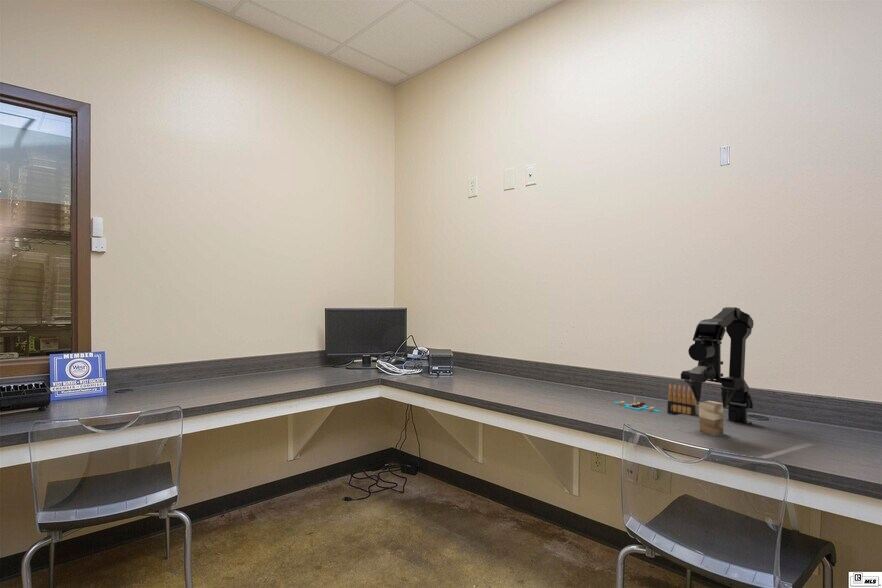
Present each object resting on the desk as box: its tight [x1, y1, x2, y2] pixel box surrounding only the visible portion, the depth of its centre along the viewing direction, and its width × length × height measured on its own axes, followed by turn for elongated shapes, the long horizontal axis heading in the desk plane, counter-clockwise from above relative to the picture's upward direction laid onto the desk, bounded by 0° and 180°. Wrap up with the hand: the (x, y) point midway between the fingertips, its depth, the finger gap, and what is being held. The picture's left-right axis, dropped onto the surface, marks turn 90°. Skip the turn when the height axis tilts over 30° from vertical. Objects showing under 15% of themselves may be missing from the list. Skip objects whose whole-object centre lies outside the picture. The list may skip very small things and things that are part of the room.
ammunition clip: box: [666, 383, 698, 417], centre depth 178 cm, size 11×2×12 cm, turn 40°
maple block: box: [698, 400, 724, 420], centre depth 153 cm, size 5×5×5 cm
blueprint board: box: [676, 424, 748, 443], centre depth 153 cm, size 16×16×1 cm
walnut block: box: [698, 417, 724, 436], centre depth 153 cm, size 5×5×5 cm
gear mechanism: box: [614, 396, 661, 414], centre depth 191 cm, size 20×5×9 cm
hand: (711, 404), depth 153 cm, fingers open, 9 cm apart
